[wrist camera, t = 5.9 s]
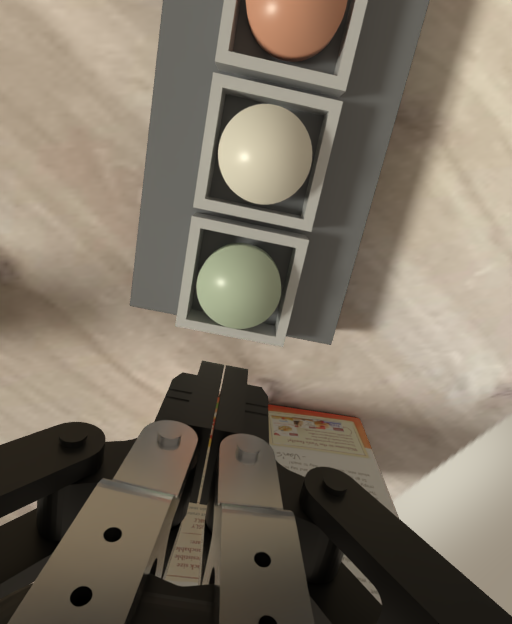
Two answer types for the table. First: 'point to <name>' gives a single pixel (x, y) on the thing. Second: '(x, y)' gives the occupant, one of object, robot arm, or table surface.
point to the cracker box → (300, 459)
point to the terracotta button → (294, 26)
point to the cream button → (265, 154)
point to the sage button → (239, 286)
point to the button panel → (318, 185)
